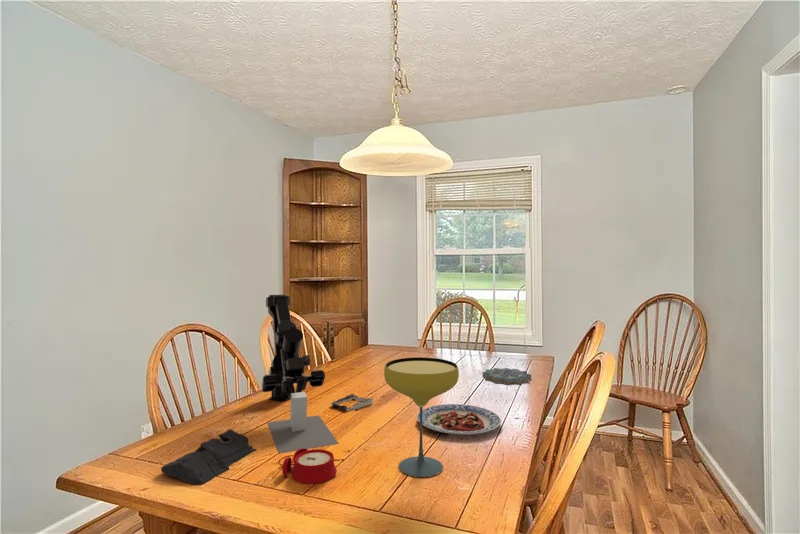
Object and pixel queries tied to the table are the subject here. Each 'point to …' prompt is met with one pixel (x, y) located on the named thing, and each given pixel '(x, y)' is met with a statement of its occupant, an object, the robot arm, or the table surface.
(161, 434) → the table surface
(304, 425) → the painted block
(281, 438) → the rubber mat
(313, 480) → the alarm clock
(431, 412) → the ceramic plate
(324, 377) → the robot arm
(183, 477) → the dark slate chunk
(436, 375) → the cocktail glass
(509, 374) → the decorative tile
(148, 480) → the table surface
